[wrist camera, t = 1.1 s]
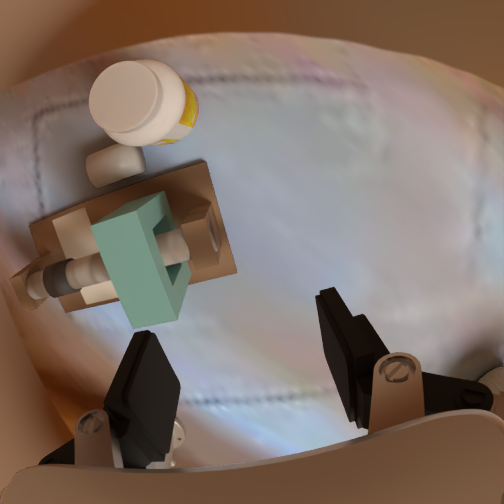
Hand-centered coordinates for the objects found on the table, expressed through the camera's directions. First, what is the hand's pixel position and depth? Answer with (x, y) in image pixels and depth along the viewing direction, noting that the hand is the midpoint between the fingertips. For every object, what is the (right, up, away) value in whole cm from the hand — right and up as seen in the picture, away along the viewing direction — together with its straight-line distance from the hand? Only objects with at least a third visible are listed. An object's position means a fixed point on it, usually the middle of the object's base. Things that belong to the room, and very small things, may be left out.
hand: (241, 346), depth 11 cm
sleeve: (-13, +13, +18) cm, 26 cm away
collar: (-9, +5, +19) cm, 22 cm away
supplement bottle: (-8, +17, +17) cm, 25 cm away
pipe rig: (-14, +4, +21) cm, 25 cm away
